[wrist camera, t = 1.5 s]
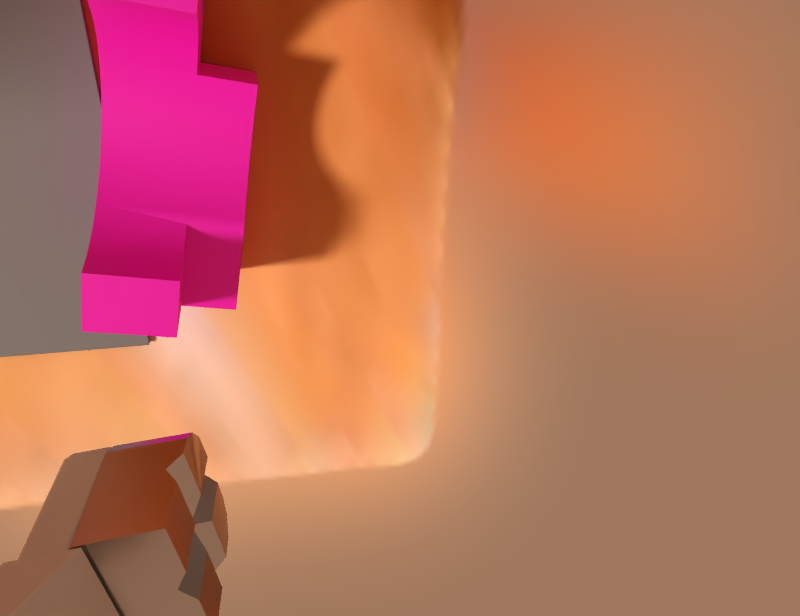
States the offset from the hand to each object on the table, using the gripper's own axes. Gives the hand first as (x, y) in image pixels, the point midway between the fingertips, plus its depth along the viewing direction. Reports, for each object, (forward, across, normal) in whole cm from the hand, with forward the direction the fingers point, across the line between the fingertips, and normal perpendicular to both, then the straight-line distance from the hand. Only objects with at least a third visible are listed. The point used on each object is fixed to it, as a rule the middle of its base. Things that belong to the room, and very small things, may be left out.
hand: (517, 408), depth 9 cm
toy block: (+26, +9, +1) cm, 28 cm away
